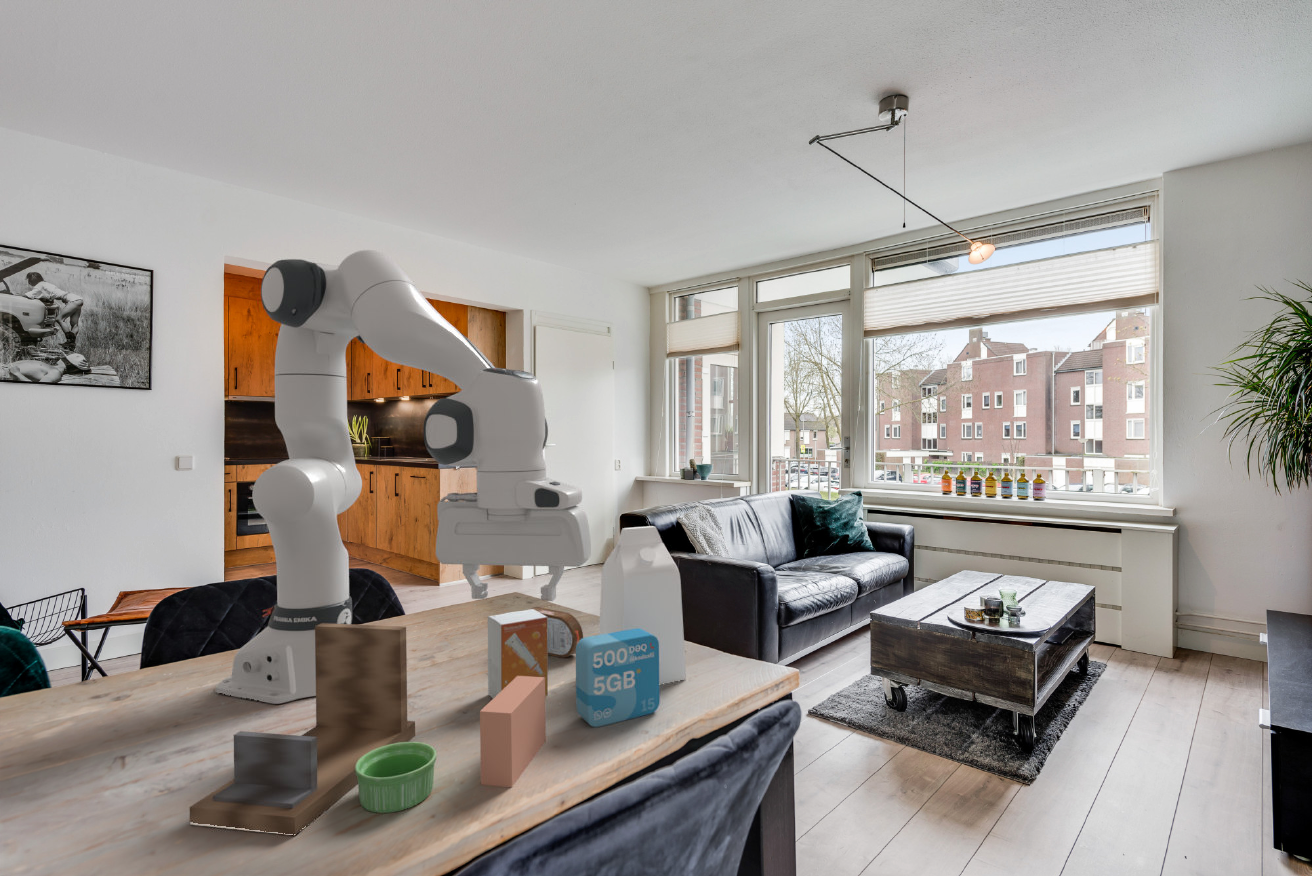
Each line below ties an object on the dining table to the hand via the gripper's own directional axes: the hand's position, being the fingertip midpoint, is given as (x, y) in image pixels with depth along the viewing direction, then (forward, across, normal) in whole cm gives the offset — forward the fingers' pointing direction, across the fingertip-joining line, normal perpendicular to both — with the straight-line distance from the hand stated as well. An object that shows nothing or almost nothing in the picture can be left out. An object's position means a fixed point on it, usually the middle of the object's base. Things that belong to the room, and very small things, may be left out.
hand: (513, 599), depth 86 cm
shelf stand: (+21, -24, -6) cm, 32 cm away
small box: (+21, -8, +21) cm, 31 cm away
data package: (+21, +10, +16) cm, 28 cm away
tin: (+21, -10, +42) cm, 48 cm away
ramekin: (+21, -11, -10) cm, 26 cm away
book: (+21, 0, 0) cm, 21 cm away
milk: (+22, +10, +33) cm, 41 cm away
